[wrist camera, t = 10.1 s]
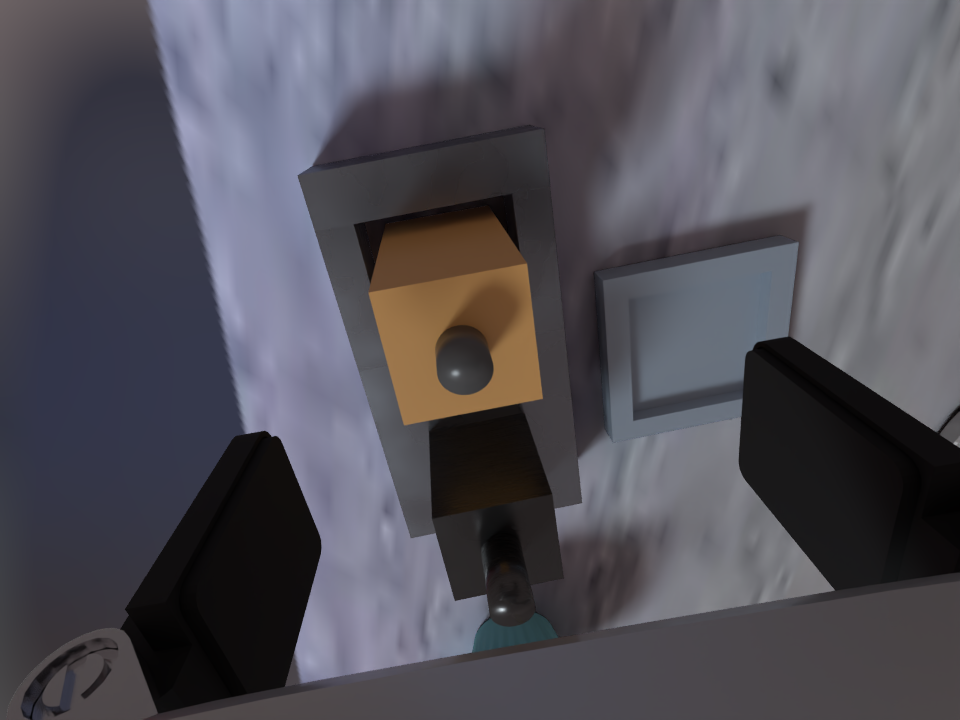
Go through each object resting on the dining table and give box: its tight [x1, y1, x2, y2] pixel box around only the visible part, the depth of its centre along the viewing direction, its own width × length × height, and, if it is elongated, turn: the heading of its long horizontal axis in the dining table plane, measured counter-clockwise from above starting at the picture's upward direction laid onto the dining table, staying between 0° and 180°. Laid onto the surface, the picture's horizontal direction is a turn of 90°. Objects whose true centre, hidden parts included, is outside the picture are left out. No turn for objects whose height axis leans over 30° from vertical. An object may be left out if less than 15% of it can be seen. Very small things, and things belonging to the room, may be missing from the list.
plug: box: [368, 205, 543, 425], centre depth 17 cm, size 4×4×9 cm
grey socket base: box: [298, 125, 582, 627], centre depth 18 cm, size 16×8×10 cm, turn 9°
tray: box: [594, 235, 799, 443], centre depth 23 cm, size 8×8×1 cm
